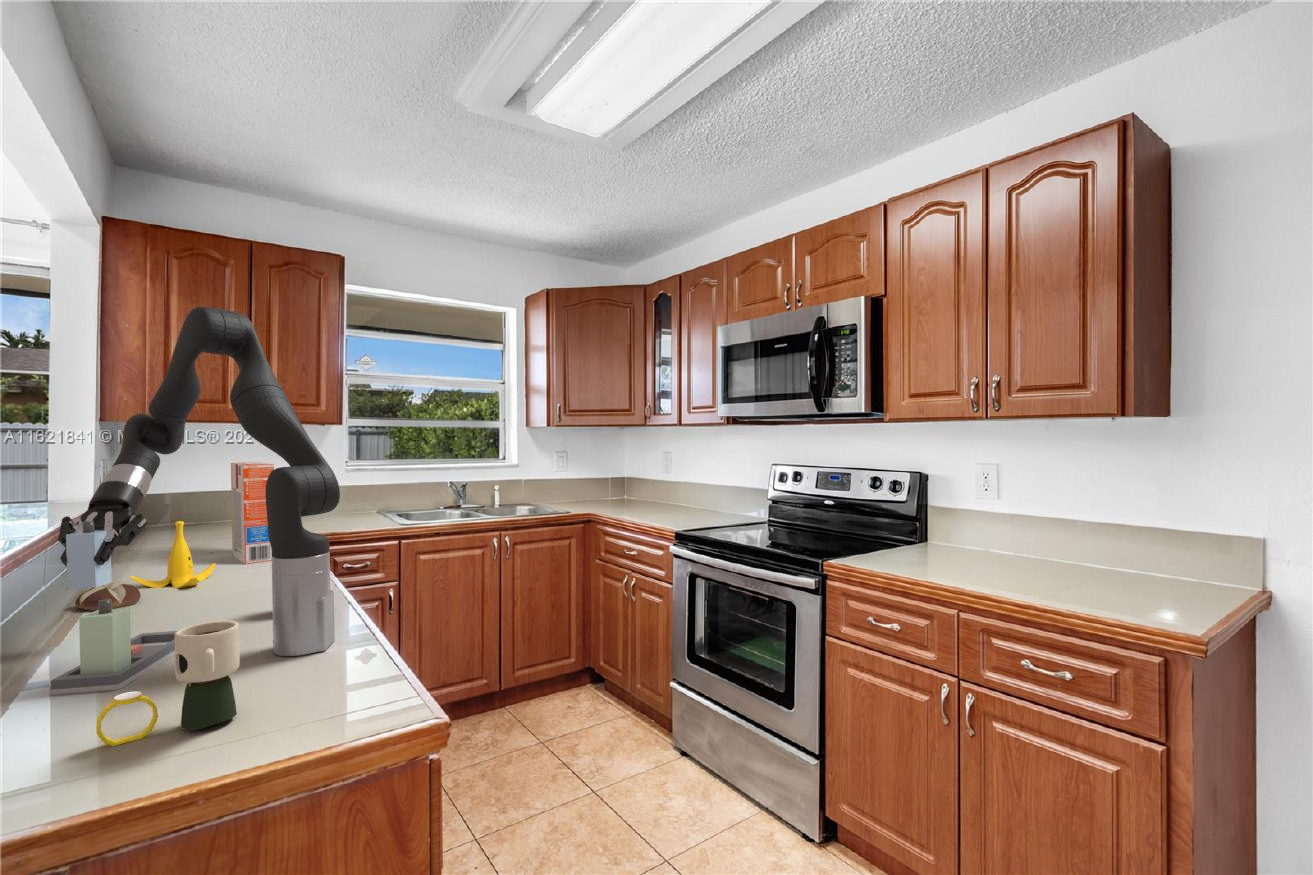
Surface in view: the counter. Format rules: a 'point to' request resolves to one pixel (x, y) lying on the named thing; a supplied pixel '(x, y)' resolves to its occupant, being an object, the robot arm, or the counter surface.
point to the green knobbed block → (105, 639)
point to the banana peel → (179, 566)
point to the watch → (122, 700)
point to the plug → (86, 559)
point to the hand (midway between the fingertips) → (82, 563)
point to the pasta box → (250, 512)
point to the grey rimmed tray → (144, 657)
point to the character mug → (207, 672)
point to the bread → (109, 596)
